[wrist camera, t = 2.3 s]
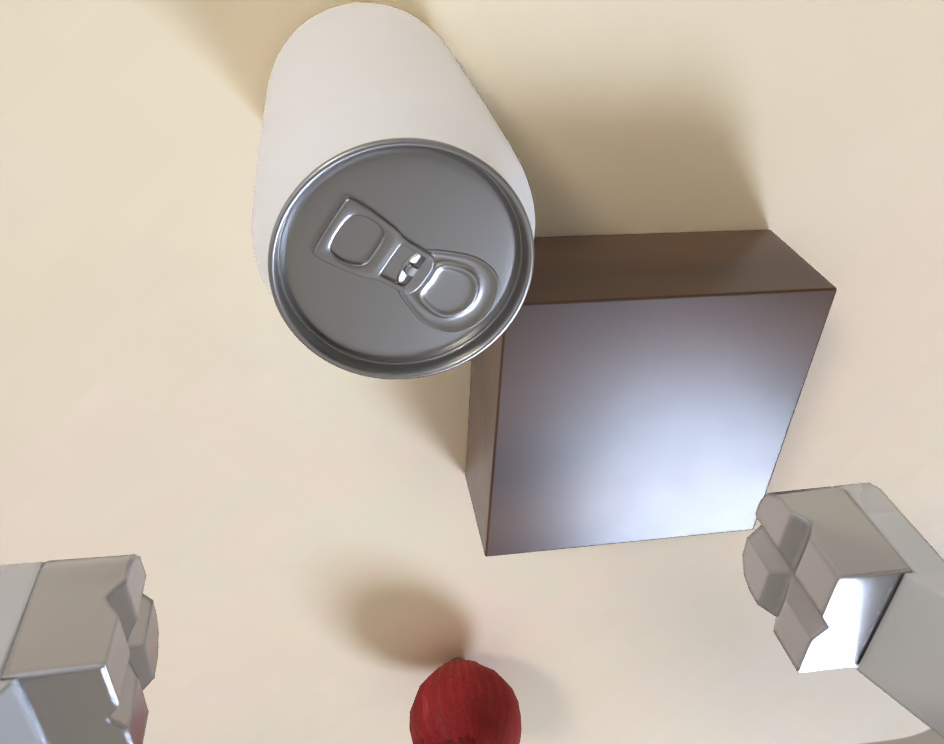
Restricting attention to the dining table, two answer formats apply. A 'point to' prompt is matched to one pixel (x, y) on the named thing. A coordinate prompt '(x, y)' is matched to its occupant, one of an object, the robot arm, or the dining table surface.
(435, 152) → the can
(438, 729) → the onion
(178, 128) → the dining table surface
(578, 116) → the dining table surface
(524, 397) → the brown square block
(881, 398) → the dining table surface
